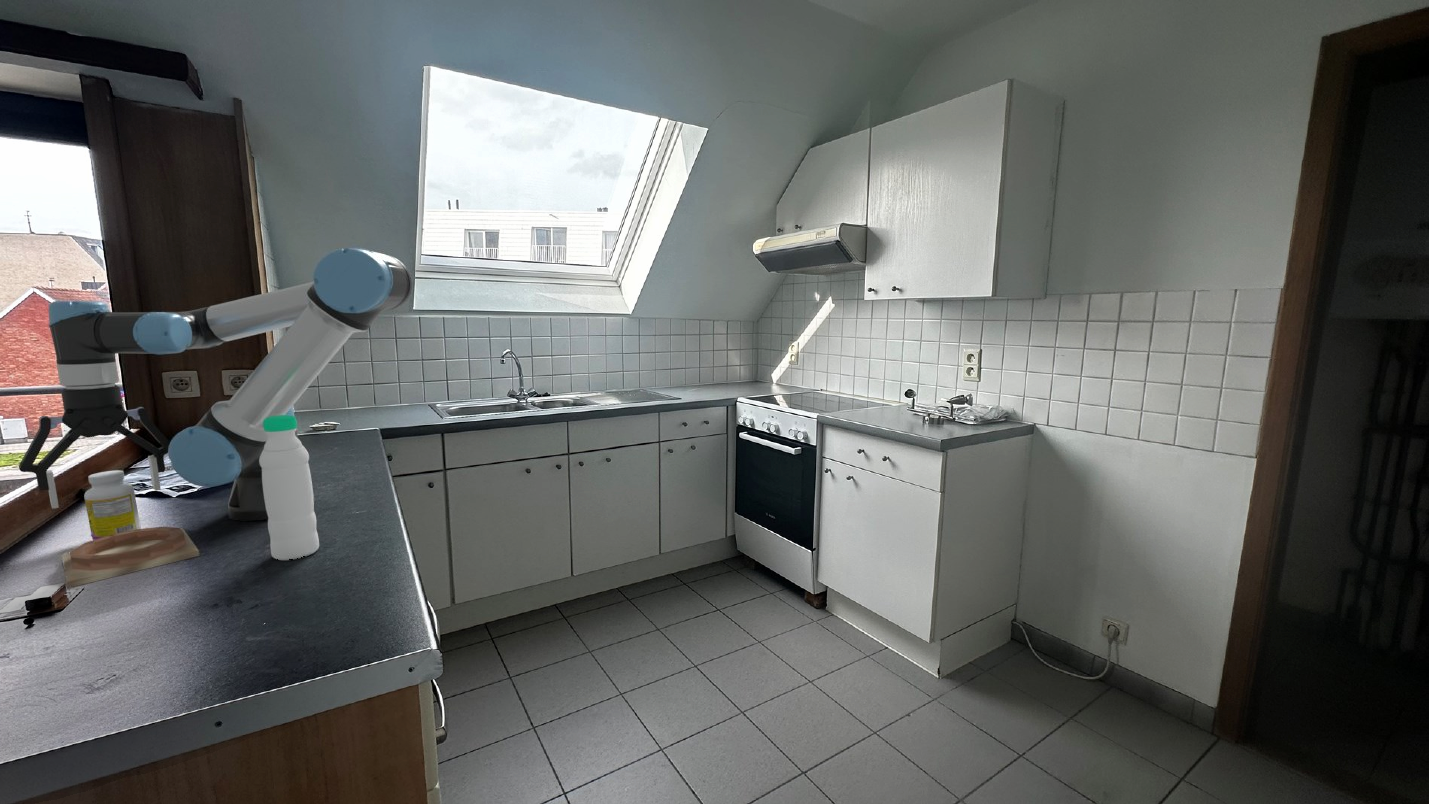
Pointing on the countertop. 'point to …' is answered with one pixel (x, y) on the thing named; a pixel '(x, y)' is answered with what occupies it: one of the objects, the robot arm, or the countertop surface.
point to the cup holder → (126, 554)
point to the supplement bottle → (111, 504)
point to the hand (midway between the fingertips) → (108, 497)
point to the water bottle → (287, 490)
